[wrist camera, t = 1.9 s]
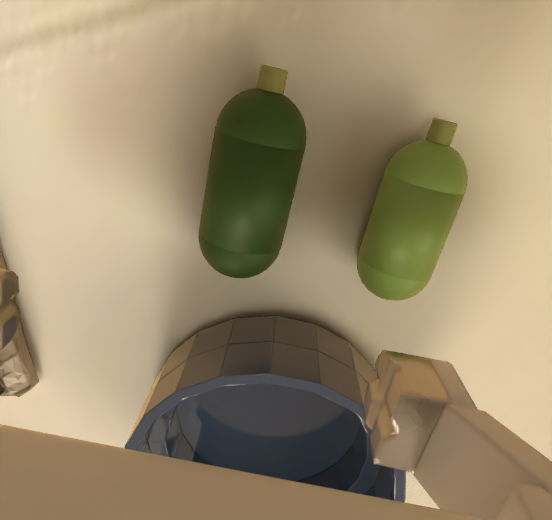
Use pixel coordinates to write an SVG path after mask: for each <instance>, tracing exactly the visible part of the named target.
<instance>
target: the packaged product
mask: <svg viewBox="0 0 552 520" xmlns="http://www.w3.org/2000/svg"><path fill="white" fill-rule="evenodd" d="M0 269H4V270H6V266H5V262H4V259H3V255H2V253H1V250H0ZM12 299H13V301H14V297H13V298H12ZM14 302H15V301H14ZM38 382H39V379H38V376H37V373H36V371H35V368H34V365H33V362H32V359H31V356H30V353H29V351H28V348H27V345H26V341H25V337H24V334H23V330H22V326H21V323H20V319H19V322H18V326H17V330H16V332H15V334H14V336H13V337H12V339H11V341H10V342H9V343H8V344H7V345H6V346H5V347H4V348H3V349H2V350H0V396H18V397H20V396H21V395H23V394H25V393H27V392H29V391H30V390H31V389H32V388H33V387H34V386H35V385H36V384H37V383H38Z"/></svg>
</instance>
